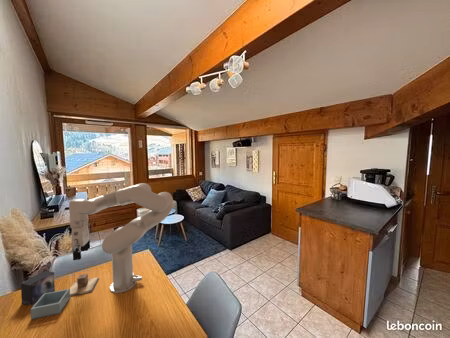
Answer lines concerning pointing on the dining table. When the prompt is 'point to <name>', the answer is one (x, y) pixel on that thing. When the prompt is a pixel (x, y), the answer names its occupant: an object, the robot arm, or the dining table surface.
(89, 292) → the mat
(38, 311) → the open box
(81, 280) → the lid
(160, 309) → the dining table surface
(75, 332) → the dining table surface
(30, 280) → the small box
